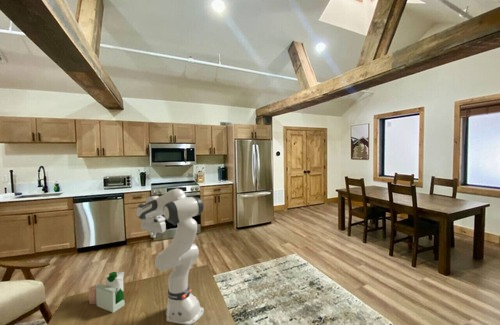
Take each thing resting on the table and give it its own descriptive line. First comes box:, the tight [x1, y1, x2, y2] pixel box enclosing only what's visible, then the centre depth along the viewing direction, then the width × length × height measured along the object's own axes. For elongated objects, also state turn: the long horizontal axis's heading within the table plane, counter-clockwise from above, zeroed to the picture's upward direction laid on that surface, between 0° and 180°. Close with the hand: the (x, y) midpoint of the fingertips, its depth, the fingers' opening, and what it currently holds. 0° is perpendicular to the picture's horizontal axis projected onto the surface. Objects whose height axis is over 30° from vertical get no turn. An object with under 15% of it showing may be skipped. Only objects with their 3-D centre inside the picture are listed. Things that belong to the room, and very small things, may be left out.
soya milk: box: [104, 271, 125, 304], centre depth 143 cm, size 9×9×20 cm
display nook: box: [95, 283, 125, 314], centre depth 140 cm, size 15×8×13 cm, turn 67°
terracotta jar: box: [88, 284, 97, 305], centre depth 144 cm, size 6×6×9 cm
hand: (153, 237), depth 160 cm, fingers closed
